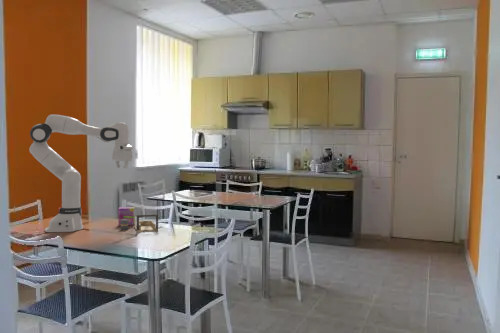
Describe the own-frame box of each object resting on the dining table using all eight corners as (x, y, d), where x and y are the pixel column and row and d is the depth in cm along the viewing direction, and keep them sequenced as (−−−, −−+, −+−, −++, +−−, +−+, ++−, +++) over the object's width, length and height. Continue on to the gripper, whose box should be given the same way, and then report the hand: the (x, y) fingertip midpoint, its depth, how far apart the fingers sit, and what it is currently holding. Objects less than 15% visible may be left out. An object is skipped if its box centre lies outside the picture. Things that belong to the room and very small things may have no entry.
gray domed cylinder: (120, 230, 280) (120, 220, 279) (120, 228, 284) (120, 219, 284) (128, 229, 281) (128, 220, 281) (127, 228, 286) (127, 219, 286)
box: (118, 225, 294) (118, 208, 294) (119, 224, 300) (119, 207, 299) (134, 225, 296) (134, 208, 295) (135, 223, 301) (135, 206, 301)
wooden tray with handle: (136, 232, 273) (136, 215, 272) (133, 227, 288) (133, 211, 287) (158, 231, 278) (158, 214, 277) (154, 226, 293) (154, 210, 292)
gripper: (109, 146, 291) (109, 167, 292) (125, 147, 277) (125, 168, 277) (118, 146, 296) (118, 167, 296) (134, 147, 281) (134, 168, 282)
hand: (121, 167), depth 287 cm, fingers open, 8 cm apart
